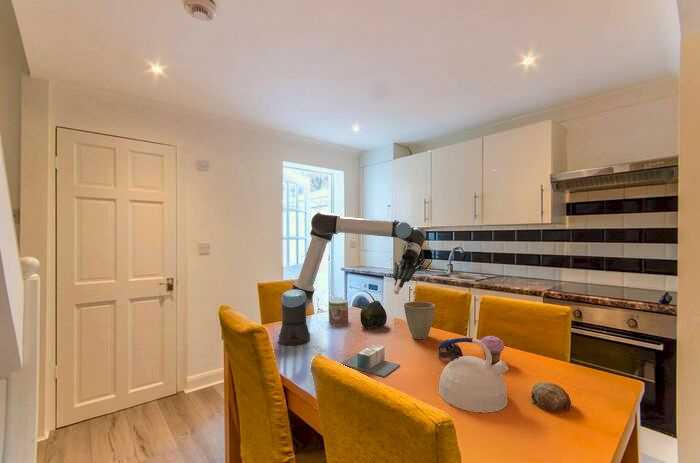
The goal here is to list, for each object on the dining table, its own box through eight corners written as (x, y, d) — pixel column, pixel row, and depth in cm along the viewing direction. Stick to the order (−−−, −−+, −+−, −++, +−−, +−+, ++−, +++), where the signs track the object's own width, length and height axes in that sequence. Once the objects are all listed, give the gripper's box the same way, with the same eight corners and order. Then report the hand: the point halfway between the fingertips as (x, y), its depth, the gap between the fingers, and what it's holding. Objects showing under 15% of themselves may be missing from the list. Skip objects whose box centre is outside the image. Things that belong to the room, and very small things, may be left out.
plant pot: (441, 337, 155) (441, 305, 155) (420, 344, 147) (419, 309, 147) (419, 330, 168) (418, 299, 168) (398, 335, 159) (397, 303, 159)
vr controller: (468, 364, 125) (460, 348, 124) (446, 373, 127) (437, 357, 125) (459, 346, 137) (451, 330, 135) (439, 354, 138) (430, 339, 137)
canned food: (326, 324, 182) (326, 303, 182) (331, 318, 193) (331, 299, 193) (346, 324, 180) (346, 303, 180) (349, 319, 191) (349, 299, 191)
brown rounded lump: (529, 407, 100) (519, 385, 100) (557, 392, 101) (546, 369, 100) (552, 427, 90) (540, 402, 90) (583, 409, 91) (571, 384, 90)
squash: (350, 316, 177) (364, 298, 170) (368, 312, 188) (381, 295, 181) (365, 337, 169) (380, 319, 163) (382, 332, 180) (397, 315, 174)
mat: (340, 364, 126) (340, 363, 126) (357, 354, 136) (357, 353, 136) (384, 377, 114) (384, 376, 114) (400, 365, 124) (400, 364, 124)
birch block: (374, 356, 132) (357, 366, 122) (374, 344, 132) (357, 353, 122) (384, 359, 129) (368, 369, 119) (384, 346, 129) (368, 356, 119)
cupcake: (480, 364, 124) (480, 338, 124) (479, 356, 132) (479, 331, 132) (505, 367, 121) (505, 341, 121) (503, 358, 129) (503, 334, 129)
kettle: (504, 421, 87) (503, 355, 87) (429, 401, 98) (429, 342, 98) (512, 390, 104) (511, 334, 104) (447, 375, 115) (447, 325, 115)
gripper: (397, 248, 162) (380, 286, 149) (421, 248, 154) (405, 289, 141) (402, 257, 166) (386, 295, 153) (425, 259, 159) (411, 298, 145)
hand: (395, 292), depth 147 cm, fingers closed
